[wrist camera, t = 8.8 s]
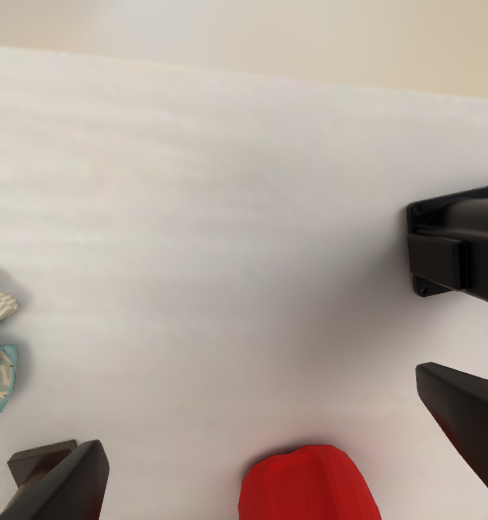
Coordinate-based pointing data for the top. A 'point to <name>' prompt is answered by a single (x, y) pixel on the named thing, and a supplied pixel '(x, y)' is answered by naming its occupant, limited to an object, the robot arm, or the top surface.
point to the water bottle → (307, 488)
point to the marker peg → (36, 465)
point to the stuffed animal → (7, 353)
